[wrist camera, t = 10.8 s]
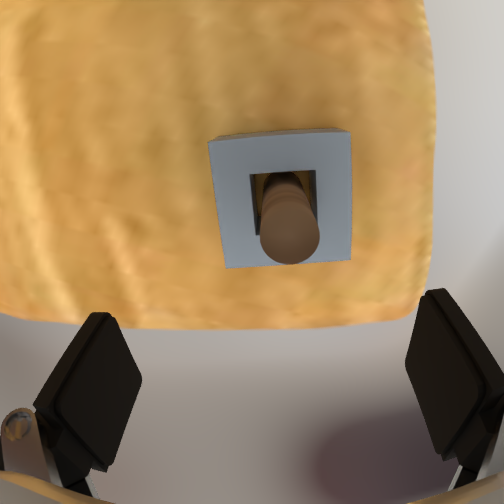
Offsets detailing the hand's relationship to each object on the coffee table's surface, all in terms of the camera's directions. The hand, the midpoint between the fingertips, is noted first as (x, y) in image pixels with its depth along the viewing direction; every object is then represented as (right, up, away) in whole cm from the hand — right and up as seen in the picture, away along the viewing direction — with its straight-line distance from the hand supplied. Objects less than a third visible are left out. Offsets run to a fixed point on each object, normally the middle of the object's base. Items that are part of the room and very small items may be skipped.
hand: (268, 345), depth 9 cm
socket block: (+2, +9, +21) cm, 22 cm away
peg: (+2, +9, +21) cm, 22 cm away
